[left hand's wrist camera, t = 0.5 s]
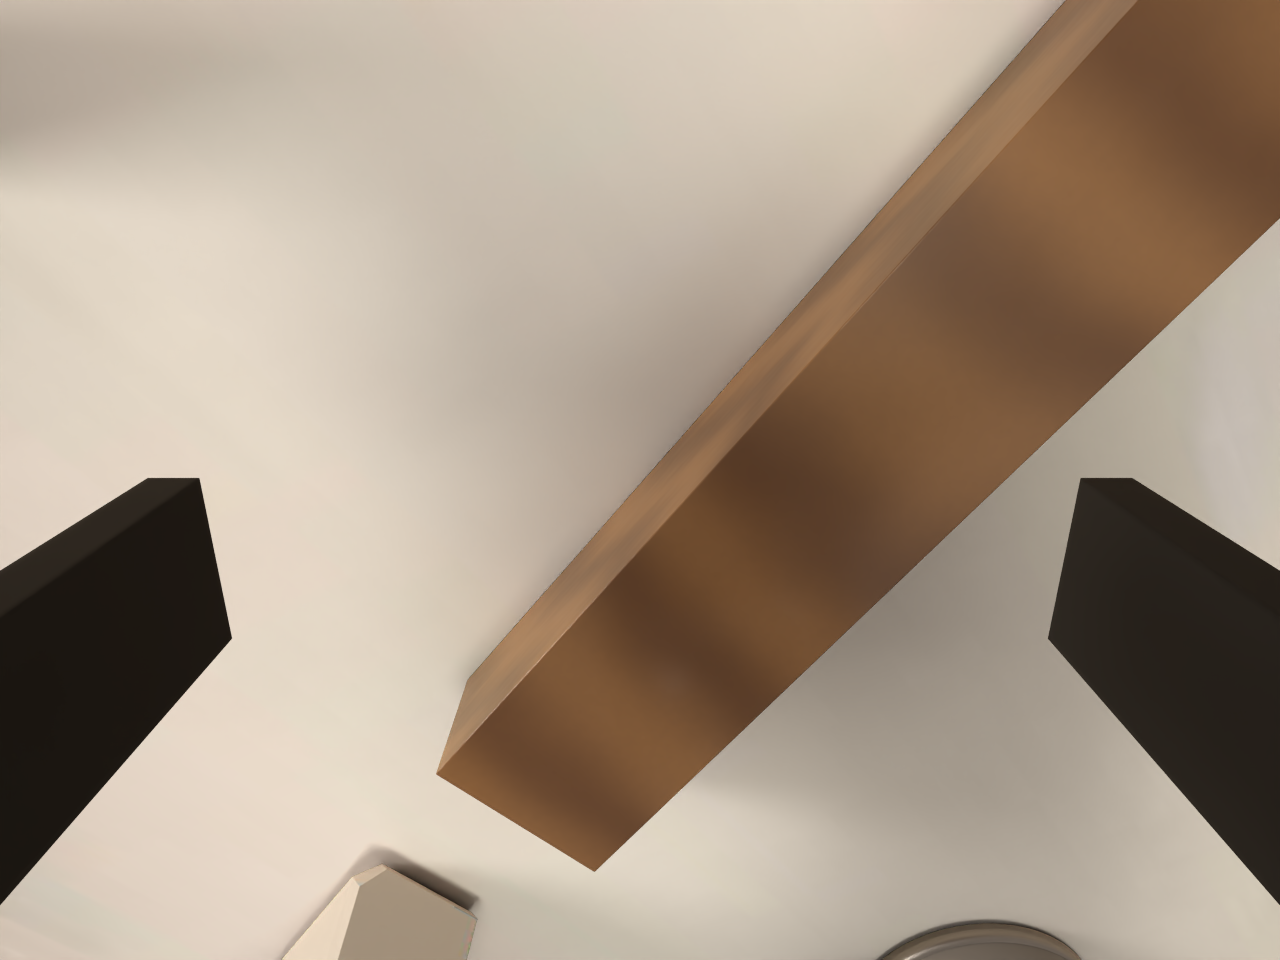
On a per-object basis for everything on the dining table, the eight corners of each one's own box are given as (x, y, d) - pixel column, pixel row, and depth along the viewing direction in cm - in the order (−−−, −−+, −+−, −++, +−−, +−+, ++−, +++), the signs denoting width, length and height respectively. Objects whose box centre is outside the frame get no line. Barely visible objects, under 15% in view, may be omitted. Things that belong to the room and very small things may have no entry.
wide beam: (601, 768, 45) (594, 872, 38) (467, 680, 43) (435, 774, 36) (1651, -289, 28) (1957, -427, 22) (1515, -511, 26) (1807, -738, 20)
